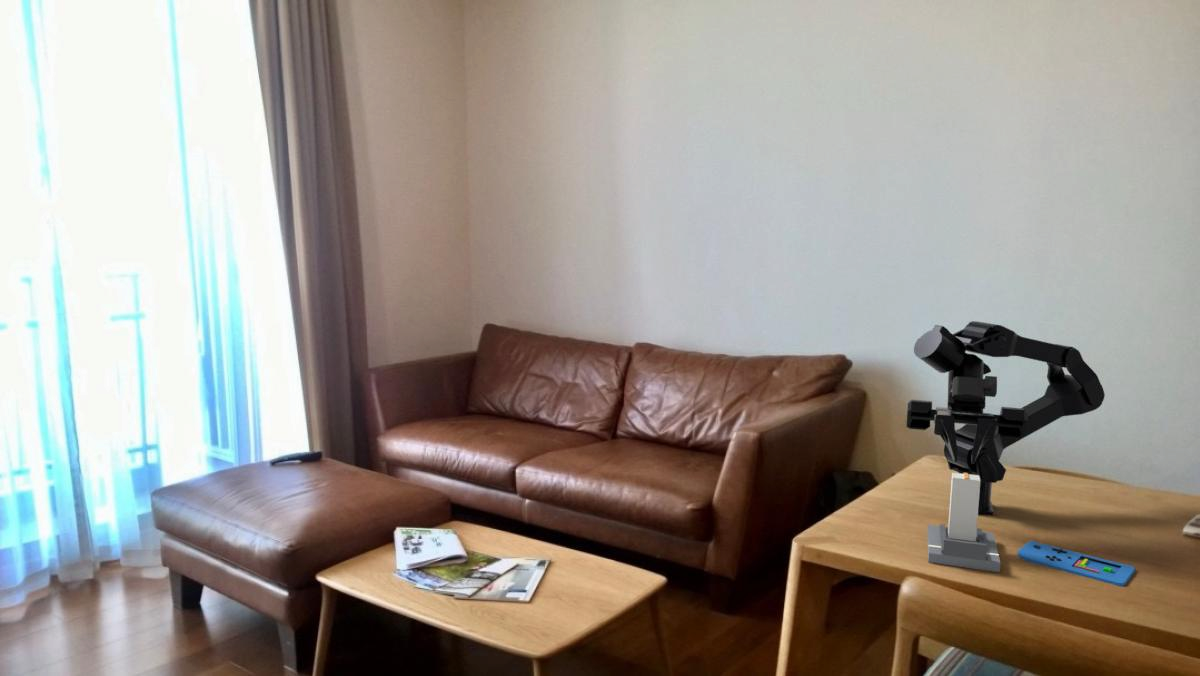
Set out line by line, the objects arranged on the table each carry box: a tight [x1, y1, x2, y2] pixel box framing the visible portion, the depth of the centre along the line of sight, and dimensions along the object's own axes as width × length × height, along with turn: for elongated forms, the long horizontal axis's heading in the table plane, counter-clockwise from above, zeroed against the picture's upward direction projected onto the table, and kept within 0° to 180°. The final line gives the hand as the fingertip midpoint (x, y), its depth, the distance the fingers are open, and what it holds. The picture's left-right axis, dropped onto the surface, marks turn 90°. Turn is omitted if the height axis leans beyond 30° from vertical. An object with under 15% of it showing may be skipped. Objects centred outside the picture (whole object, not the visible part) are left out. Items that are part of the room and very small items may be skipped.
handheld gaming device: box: [1016, 540, 1136, 587], centre depth 128 cm, size 8×1×15 cm
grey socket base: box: [926, 523, 1001, 573], centre depth 132 cm, size 13×10×4 cm
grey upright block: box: [947, 472, 980, 542], centre depth 133 cm, size 3×4×10 cm
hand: (964, 461), depth 138 cm, fingers open, 2 cm apart
